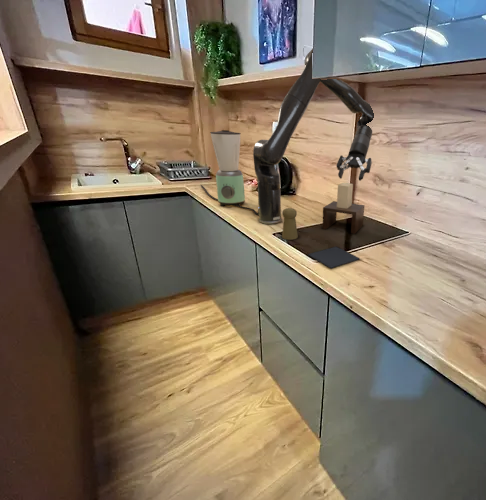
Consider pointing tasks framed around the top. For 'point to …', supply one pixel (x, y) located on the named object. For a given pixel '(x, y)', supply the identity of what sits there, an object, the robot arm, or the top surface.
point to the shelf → (354, 210)
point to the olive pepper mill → (289, 224)
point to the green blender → (228, 168)
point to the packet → (344, 195)
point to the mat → (333, 257)
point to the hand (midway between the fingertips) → (349, 178)
